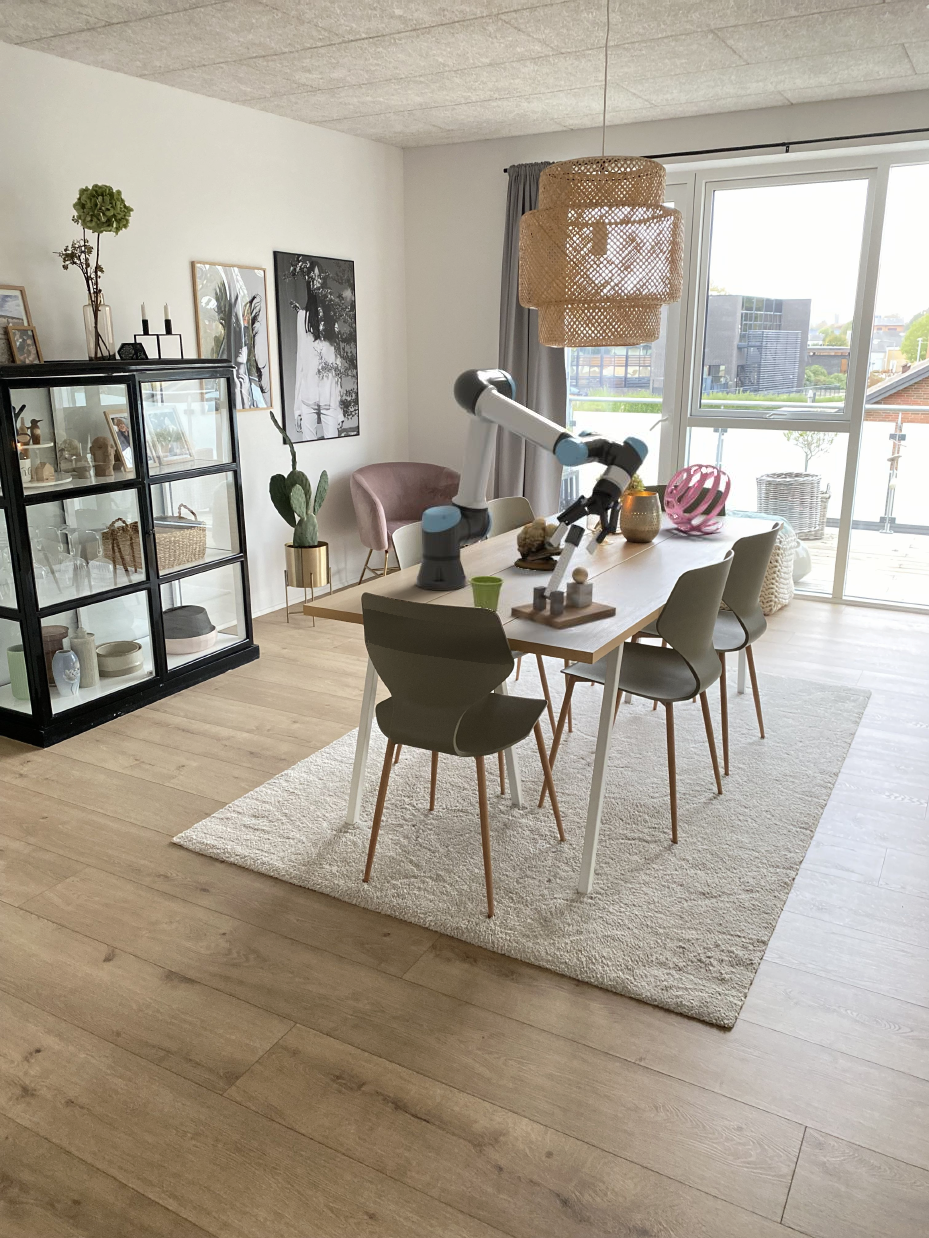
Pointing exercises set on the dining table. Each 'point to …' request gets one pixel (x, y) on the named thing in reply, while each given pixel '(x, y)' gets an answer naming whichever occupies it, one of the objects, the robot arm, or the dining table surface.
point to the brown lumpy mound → (537, 546)
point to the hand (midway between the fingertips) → (570, 547)
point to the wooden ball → (579, 574)
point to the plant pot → (486, 591)
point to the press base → (564, 607)
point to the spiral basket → (691, 495)
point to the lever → (564, 558)
